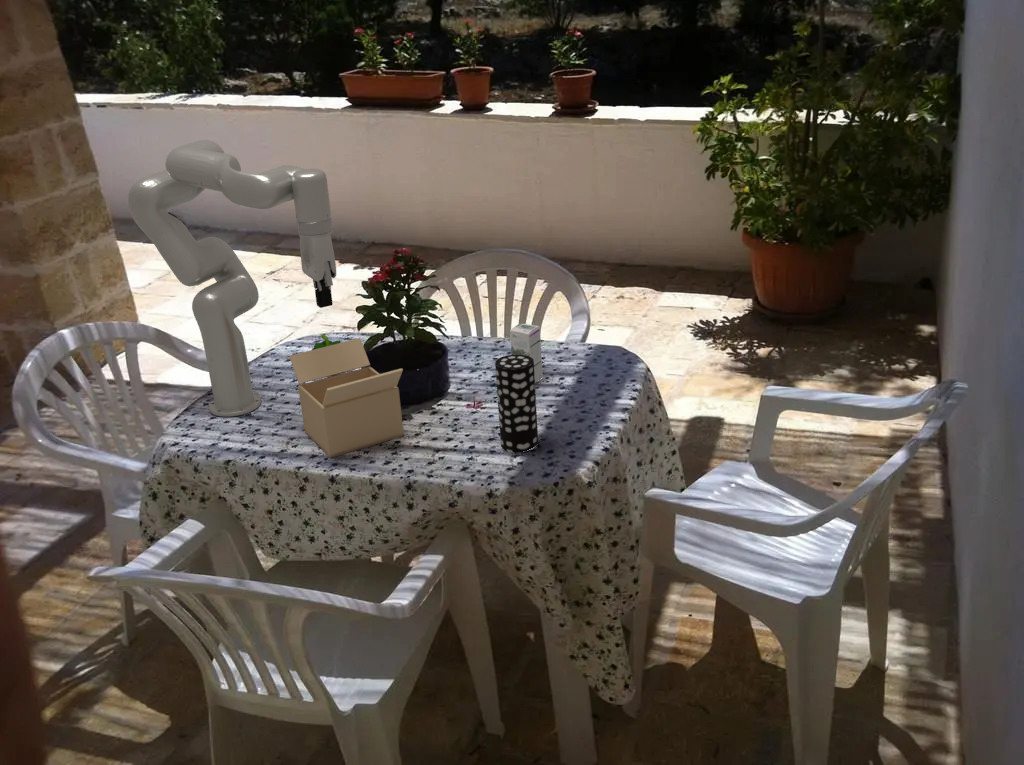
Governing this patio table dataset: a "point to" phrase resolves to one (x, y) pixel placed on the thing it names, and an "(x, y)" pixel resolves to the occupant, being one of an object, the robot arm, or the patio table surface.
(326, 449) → the carton
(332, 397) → the cardboard box flap
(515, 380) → the spotted tube
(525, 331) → the syrup box
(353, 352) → the flap
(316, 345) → the bell pepper
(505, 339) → the patio table surface
